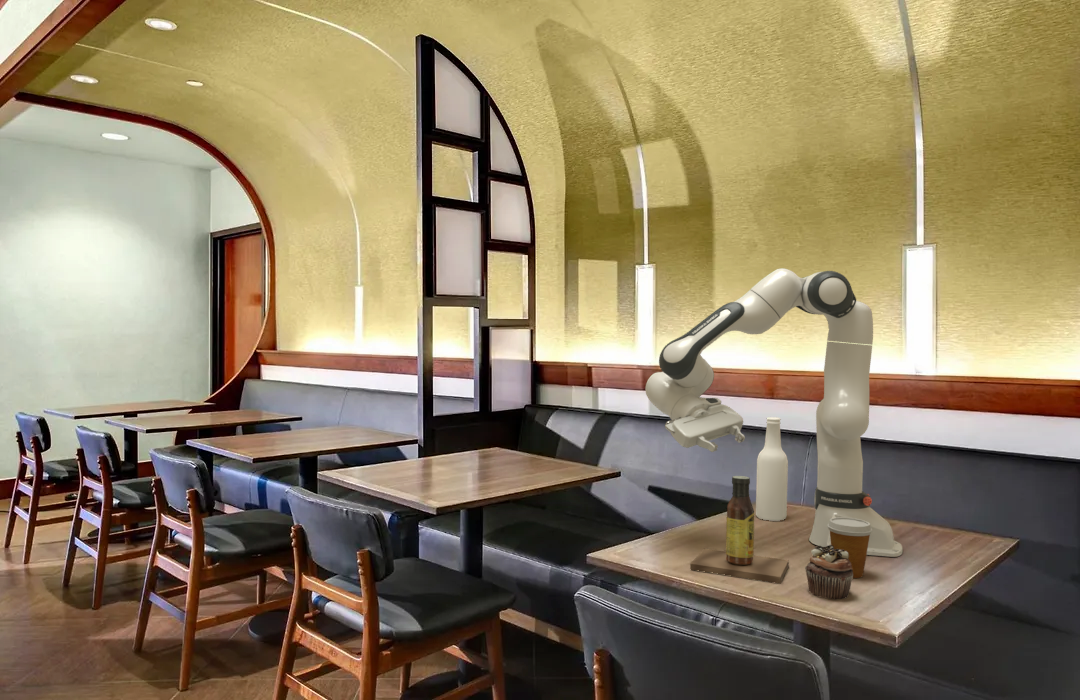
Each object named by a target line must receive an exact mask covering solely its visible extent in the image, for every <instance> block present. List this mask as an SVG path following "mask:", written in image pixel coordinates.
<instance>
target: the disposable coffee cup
mask: <svg viewBox="0 0 1080 700" xmlns="http://www.w3.org/2000/svg"><path fill="white" fill-rule="evenodd" d="M827 526H828V528H829V530H830V539H831V545H832V546H834V549H841V550H843V549H844V551H847V552H848V559H849V561H850V562H851V565H852V570H853V578H852V579H859V578H862V577H863V576H864V571H865V567H866V560H867V555H866V554H867V548H868V542H869V536H870V534H871V532H872V529H871V527H870V523H869V522H866V521H864V520H860V519H854V518H842V517H840V518H832V519H830V521H829V524H828V525H827Z"/></svg>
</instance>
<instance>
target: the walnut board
mask: <svg viewBox="0 0 1080 700" xmlns="http://www.w3.org/2000/svg"><path fill="white" fill-rule="evenodd" d="M726 556H727V554H726V550H717V549H711V548H703V550H701V552H700V553H699V554H698V555H697V556H696V557H695V558H694V559H693V560H692V561H691V562H690V568H689V569H691V570H690V571H693V570H699V571H698V572H700V571H705V572H704V573H706V572H713V573H718V574H717V575H719V574H725V575H724V576H726V575H731V576H730V577H732V576H736V577H735V578H739V577H742V578H741V579H745V578H749V579H748V580H752V579H755V580H754V581H758V580H762V581H761V582H765V581H768V582H767V583H772V582H775V583H774V584H778V583H780V584H781V583H782V581H783V579H784V577H785V575H786V573H787V571H788V569H789V566H790V560H789V559H783V558H776V557H769V556H762V555H756V554H755V555H754V554H753V561H752V563H751V564H748V565H736V564H732V563H729V562H728V561H727V560H726ZM713 573H712V574H713Z"/></svg>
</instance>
